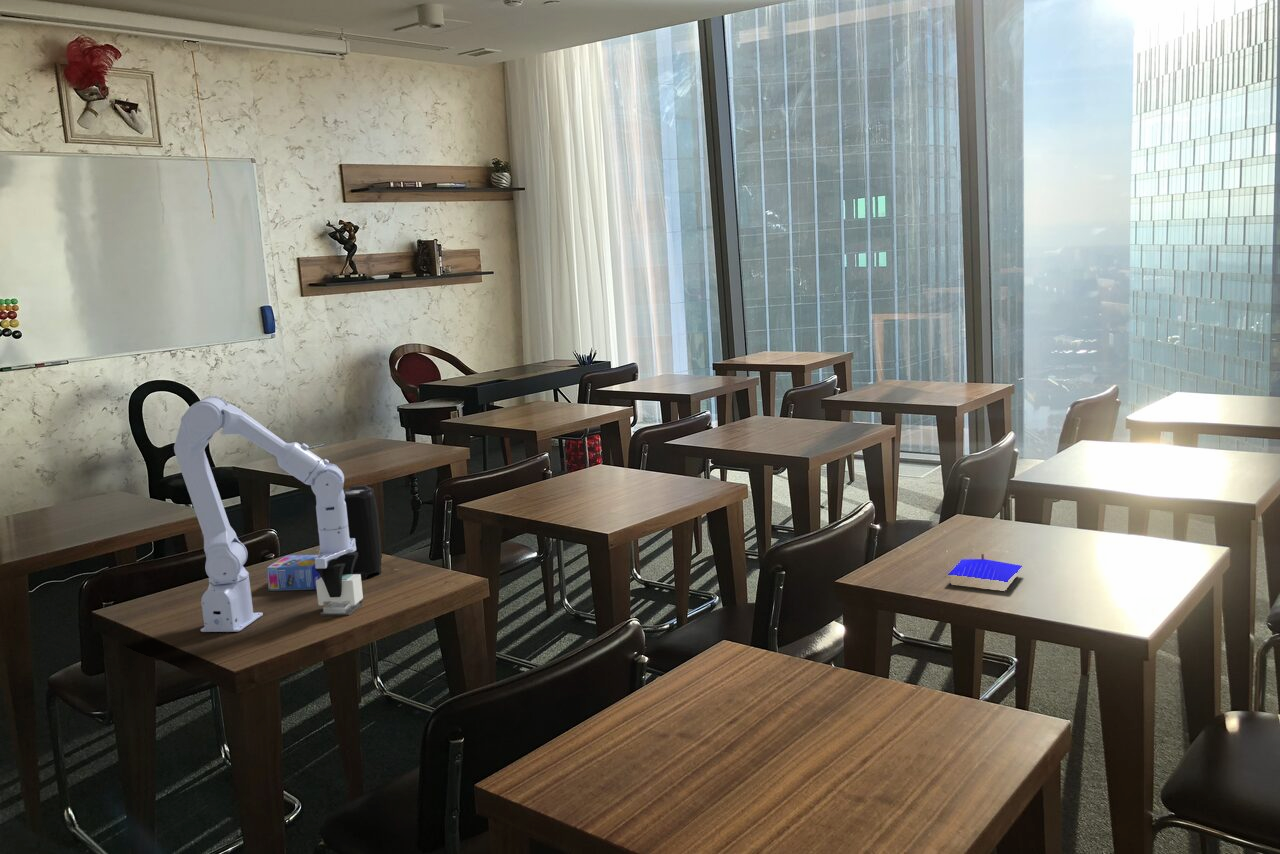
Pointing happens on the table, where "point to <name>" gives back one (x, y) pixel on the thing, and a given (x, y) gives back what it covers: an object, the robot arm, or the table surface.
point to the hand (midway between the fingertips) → (340, 592)
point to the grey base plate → (340, 608)
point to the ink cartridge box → (293, 573)
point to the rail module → (349, 590)
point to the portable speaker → (364, 529)
